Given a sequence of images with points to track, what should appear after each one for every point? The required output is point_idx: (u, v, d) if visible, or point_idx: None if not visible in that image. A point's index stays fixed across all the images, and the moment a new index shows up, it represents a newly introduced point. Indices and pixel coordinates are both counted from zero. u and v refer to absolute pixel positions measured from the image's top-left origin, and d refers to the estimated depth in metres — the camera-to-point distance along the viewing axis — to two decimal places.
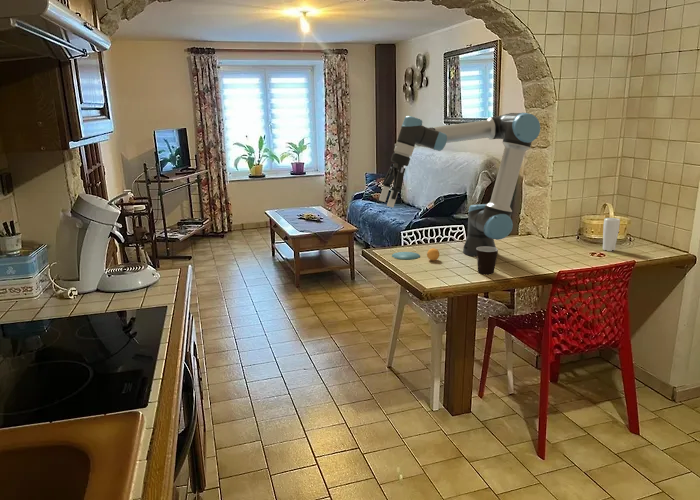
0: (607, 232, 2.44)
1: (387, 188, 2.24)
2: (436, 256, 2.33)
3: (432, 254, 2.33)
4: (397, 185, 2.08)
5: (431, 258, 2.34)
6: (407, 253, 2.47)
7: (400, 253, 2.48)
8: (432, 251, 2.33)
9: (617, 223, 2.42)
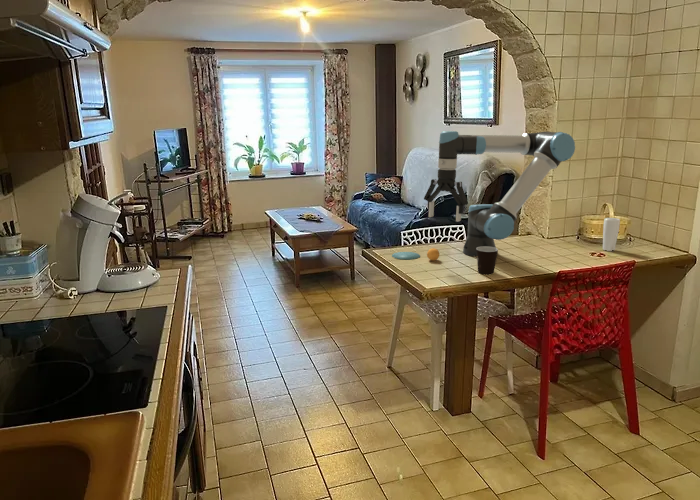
0: (607, 232, 2.44)
1: (432, 203, 2.28)
2: (436, 256, 2.33)
3: (432, 254, 2.33)
4: (464, 200, 2.16)
5: (431, 258, 2.34)
6: (407, 253, 2.47)
7: (400, 253, 2.48)
8: (432, 251, 2.33)
9: (617, 223, 2.42)
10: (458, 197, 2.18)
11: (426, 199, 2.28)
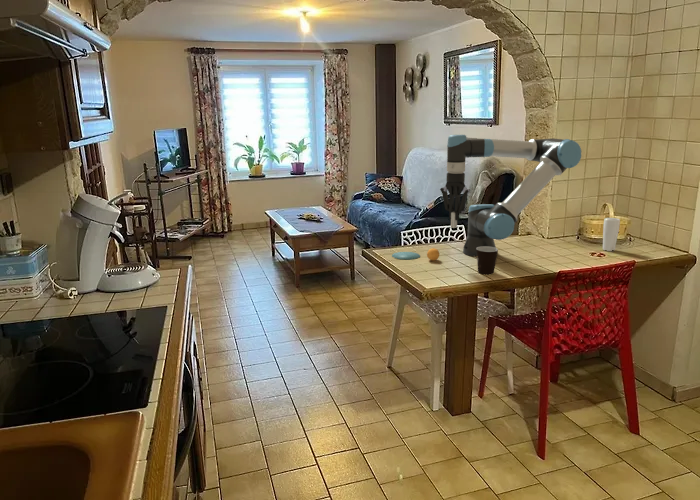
0: (607, 232, 2.44)
1: None
2: (436, 256, 2.33)
3: (432, 254, 2.33)
4: (462, 208, 2.22)
5: (431, 258, 2.34)
6: (407, 253, 2.47)
7: (400, 253, 2.48)
8: (432, 251, 2.33)
9: (617, 223, 2.42)
10: (458, 204, 2.23)
11: (447, 209, 2.26)
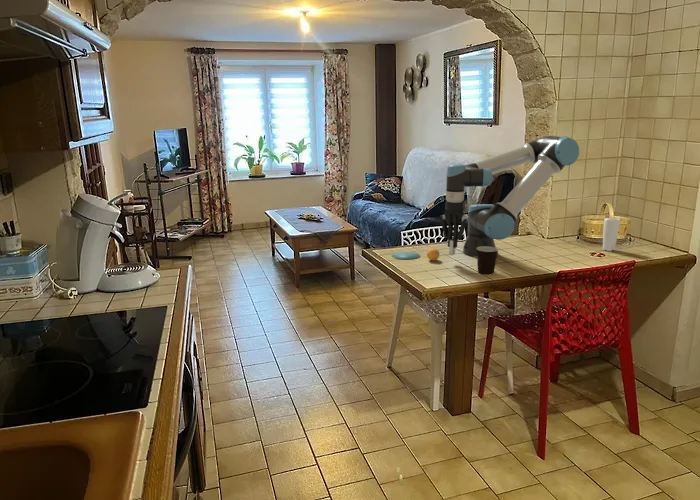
0: (607, 232, 2.44)
1: None
2: (436, 256, 2.33)
3: (432, 254, 2.33)
4: (460, 236, 2.25)
5: (431, 258, 2.34)
6: (407, 253, 2.47)
7: (400, 253, 2.48)
8: (432, 251, 2.33)
9: (617, 223, 2.42)
10: (457, 232, 2.26)
11: (446, 237, 2.29)
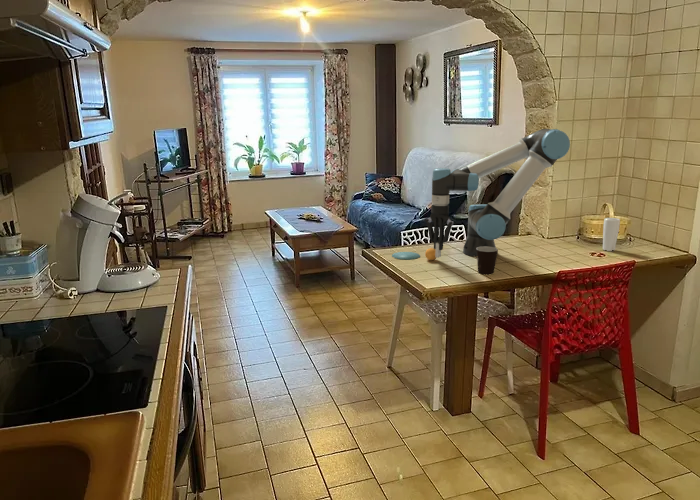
0: (607, 232, 2.44)
1: None
2: (434, 255, 2.34)
3: (430, 253, 2.33)
4: (446, 238, 2.29)
5: (430, 258, 2.34)
6: (407, 253, 2.47)
7: (400, 253, 2.48)
8: (429, 251, 2.34)
9: (617, 223, 2.42)
10: (442, 234, 2.30)
11: (432, 240, 2.33)
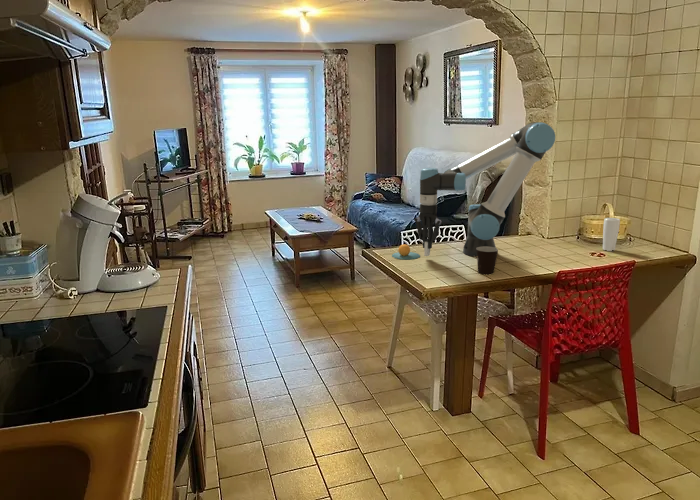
0: (607, 232, 2.44)
1: None
2: (404, 255, 2.43)
3: (403, 252, 2.41)
4: (434, 237, 2.32)
5: (399, 252, 2.42)
6: None
7: None
8: (405, 250, 2.41)
9: (617, 223, 2.42)
10: (431, 233, 2.34)
11: (421, 239, 2.36)
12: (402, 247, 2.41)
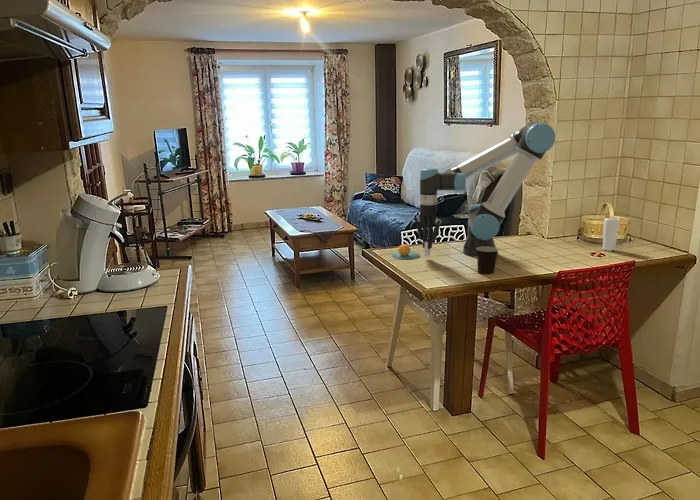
0: (607, 232, 2.44)
1: None
2: (404, 255, 2.43)
3: (403, 252, 2.41)
4: (434, 237, 2.32)
5: (399, 252, 2.42)
6: None
7: None
8: (405, 250, 2.41)
9: (617, 223, 2.42)
10: (431, 233, 2.34)
11: (421, 239, 2.36)
12: (402, 247, 2.41)
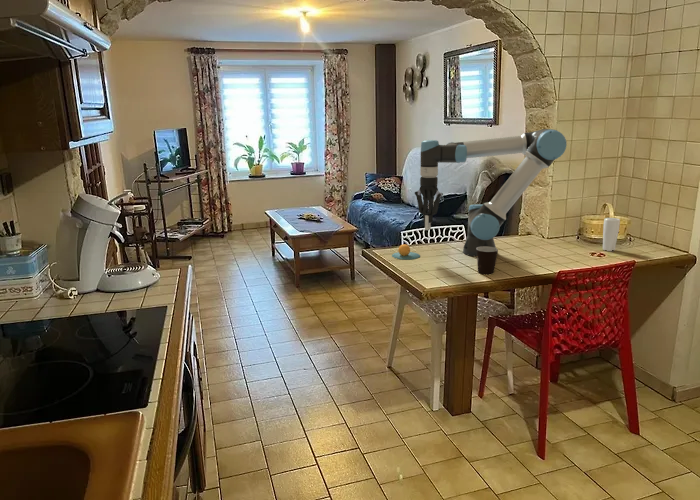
0: (607, 232, 2.44)
1: None
2: (404, 255, 2.43)
3: (403, 252, 2.41)
4: (435, 211, 2.29)
5: (399, 252, 2.42)
6: None
7: None
8: (405, 250, 2.41)
9: (617, 223, 2.42)
10: (432, 207, 2.31)
11: (422, 212, 2.33)
12: (402, 247, 2.41)
